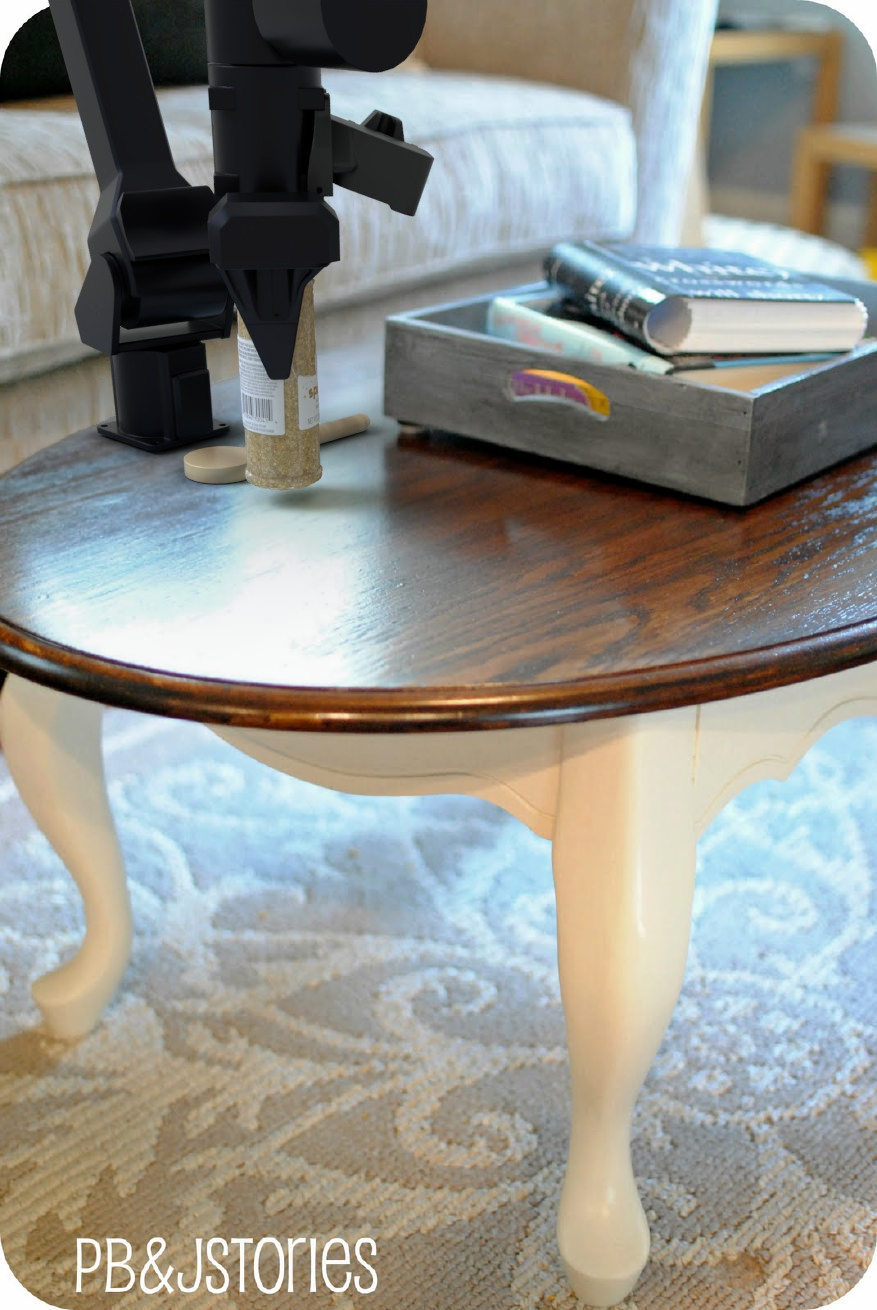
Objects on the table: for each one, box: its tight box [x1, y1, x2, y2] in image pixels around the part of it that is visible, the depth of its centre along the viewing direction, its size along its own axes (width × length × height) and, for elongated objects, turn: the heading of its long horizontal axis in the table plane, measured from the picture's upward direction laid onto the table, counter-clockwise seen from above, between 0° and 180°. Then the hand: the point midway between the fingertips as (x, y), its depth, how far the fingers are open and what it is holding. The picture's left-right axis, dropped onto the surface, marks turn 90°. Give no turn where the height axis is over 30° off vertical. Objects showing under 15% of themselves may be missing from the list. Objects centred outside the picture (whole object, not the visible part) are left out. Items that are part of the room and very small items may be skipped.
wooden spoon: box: [183, 413, 371, 485], centre depth 87 cm, size 15×4×1 cm, turn 137°
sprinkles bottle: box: [236, 278, 324, 491], centre depth 76 cm, size 5×5×13 cm
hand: (278, 368), depth 76 cm, fingers closed on sprinkles bottle, 4 cm apart
